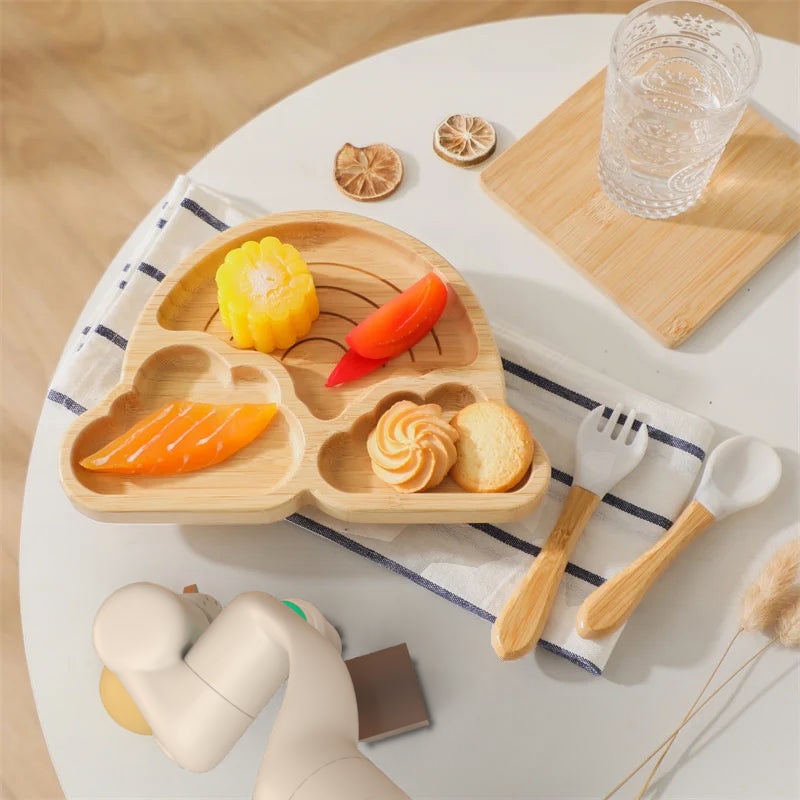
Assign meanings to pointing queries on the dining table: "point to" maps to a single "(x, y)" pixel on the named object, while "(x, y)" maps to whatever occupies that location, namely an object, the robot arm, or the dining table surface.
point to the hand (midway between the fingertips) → (219, 658)
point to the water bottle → (315, 620)
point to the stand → (386, 693)
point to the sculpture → (121, 704)
